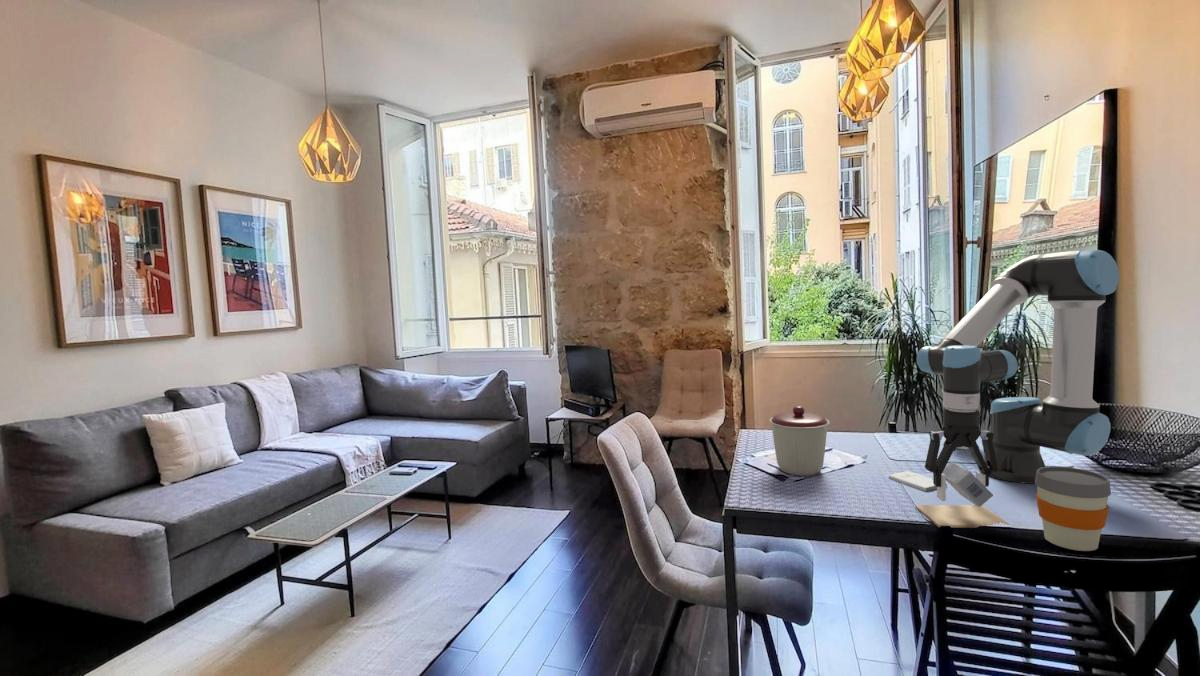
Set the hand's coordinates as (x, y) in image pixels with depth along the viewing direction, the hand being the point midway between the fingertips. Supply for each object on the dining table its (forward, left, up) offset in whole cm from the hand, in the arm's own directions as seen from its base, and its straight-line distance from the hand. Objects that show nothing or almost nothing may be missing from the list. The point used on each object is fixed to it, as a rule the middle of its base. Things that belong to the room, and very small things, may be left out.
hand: (960, 498), depth 134 cm
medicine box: (0, +6, +5) cm, 8 cm away
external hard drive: (-1, -25, -5) cm, 25 cm away
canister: (+30, -36, -5) cm, 47 cm away
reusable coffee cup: (-16, +13, -5) cm, 21 cm away
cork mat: (0, 0, -5) cm, 5 cm away
